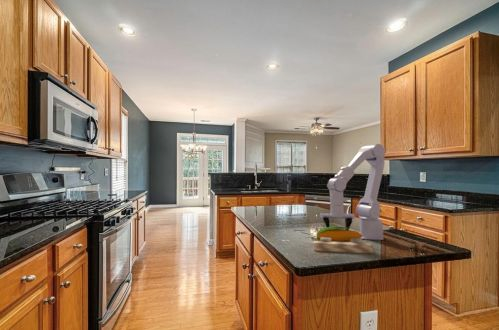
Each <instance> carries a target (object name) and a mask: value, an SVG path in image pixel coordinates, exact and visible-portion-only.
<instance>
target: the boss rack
mask: <svg viewBox="0 0 499 330" xmlns="http://www.w3.org/2000/svg"><path fill="white" fill-rule="evenodd" d="M313 250H314V251H318V252H319V251H320V252H340V253H341V252H342V253H360V254H361V253H363V254H374V246H373V244H372V243H371V242H363V239H361V238H360V239H359V238H351V242H331V238H329V237H321V238H320V241H319V240H313Z"/></svg>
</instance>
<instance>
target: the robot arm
mask: <svg viewBox="0 0 499 330" xmlns="http://www.w3.org/2000/svg"><path fill="white" fill-rule="evenodd" d="M357 152H358V153H356V155H355V156H354V157H353V159H352V160H351V162H350V163H349V164H348V165H344V166H342V167H340V169H339V171H338V172H337V173H336V174H335V175H334V177H333V178H332V177H331V178H330V179H329V180H328V182H327V184H326V187H327V189H328V190H329V200H330V201H329V204H330V205H329V207H330V209H329V211H330V212H329V213H328V212H327V213H320V219H323V223H324V224H325V227H330V219H344V224H345V227H347V228H351V225H352V224H353V220H355V217H356V216H355V214H354V213H345V210H344V190H346V187H347V184H348V182H349V181H350V180H351V179H352V178H353V176H354V175H355V170H356V169H357V168H358V167H359V166H361V165H362V163H364V161H365V162H367V163H368V164H369V165H370V169H369V175H368V176H367V177H368V178H367V182H366V186H365V187H366V188H365V191H364V196H363V197H362V198H360V199H359V202H358V204H357V206H356V207H355V212H356V214H357V215H358V218H359V233H360V234H362V235H363V236H362V237H361V238H360V239H362V240H373V241H374V240H376V241H377V240H381V241H383V240H384V227H383V226H384V225H383V221H382V219H381V218H379V217H380V215H381V203H380V202H379V201H378V196H379V191H380V190H379V189H380V186H381V182H382V177H383V173H384V168H385V155H386V148H385V147H384V146H383V145H382V144H380V143H375V144H368V145H363V146H360V149H358V150H357ZM344 230H350V229H344Z"/></svg>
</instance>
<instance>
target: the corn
mask: <svg viewBox="0 0 499 330" xmlns="http://www.w3.org/2000/svg"><path fill="white" fill-rule="evenodd" d="M350 228H351V227H350ZM350 228H347V227H344V226H329V227H326V226H325V227H322V228H320V229H319V230H318V231H317V233H316V238H317V241H320V238H321V237H329V238H331V242H351V238H359V239H361V237H362V236H363V235H362V234H360V232H359V231H357V230H356V231H355V230H350ZM345 229H349V230H345Z"/></svg>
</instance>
